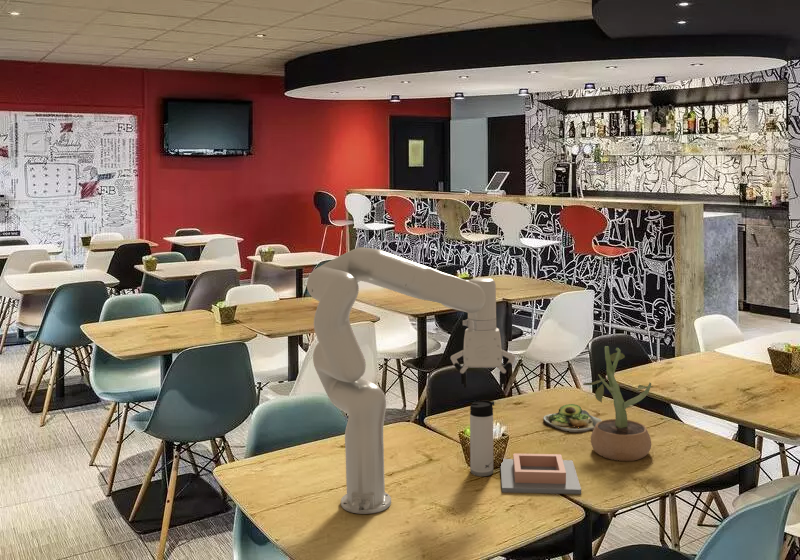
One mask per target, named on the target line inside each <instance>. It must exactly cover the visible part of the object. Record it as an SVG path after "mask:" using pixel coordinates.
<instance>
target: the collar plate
mask: <svg viewBox="0 0 800 560" xmlns="http://www.w3.org/2000/svg"><path fill="white" fill-rule="evenodd" d="M512 456H513V457H512V458H502V459H503V462H502V463H501V466H500V480H501V481H500V483H501V493H513V494H514V493H519V494H521V493H522V494H523V493H524V494H555V495H556V494H561V495H565V494H566V495H582V487H581V484H580V481H579V477H578V474H577V471H576V467H575V464H574V461H573V459H570V460H567V459H563V457H562V454H558V453H557V454H556V453H551V454H550V453H513V455H512Z"/></svg>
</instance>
